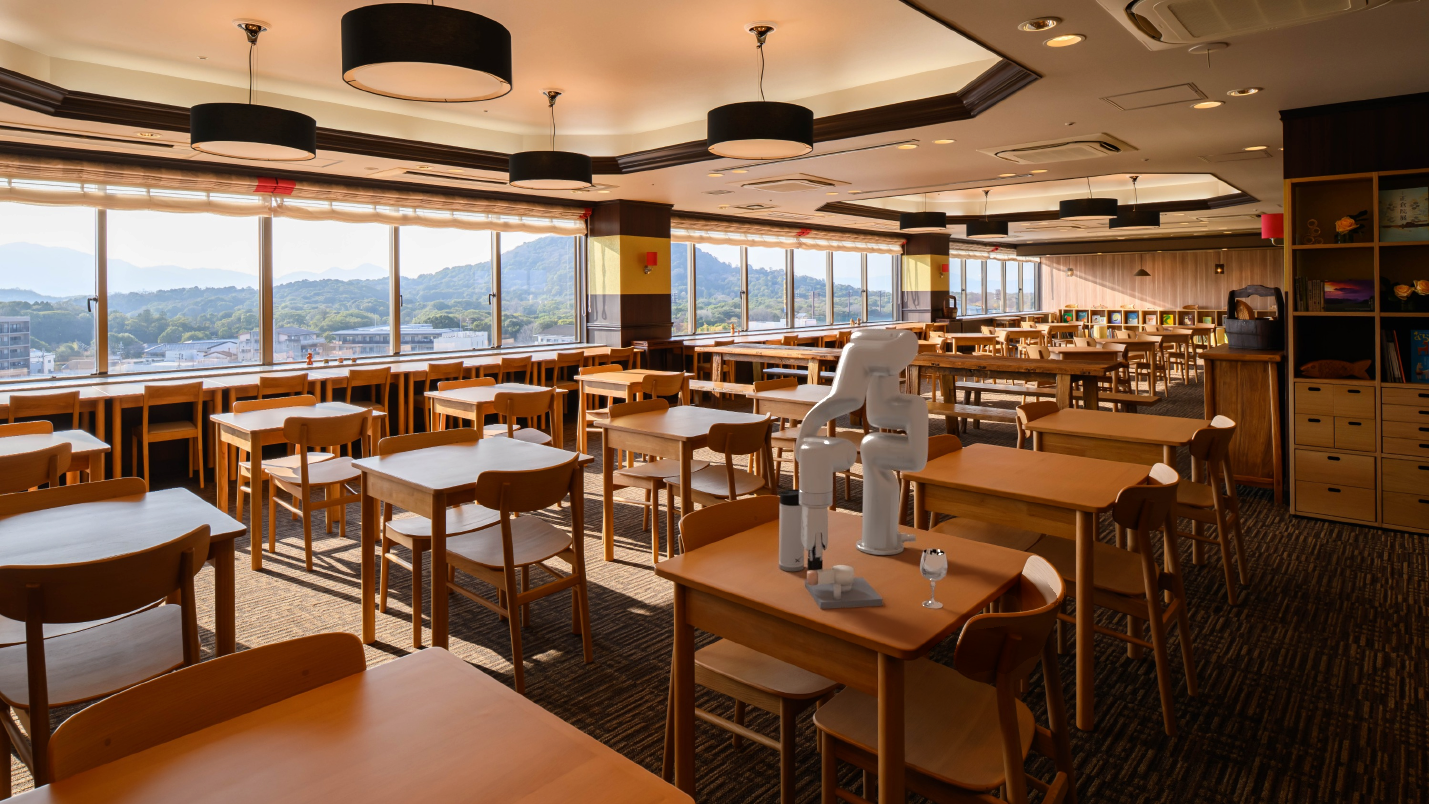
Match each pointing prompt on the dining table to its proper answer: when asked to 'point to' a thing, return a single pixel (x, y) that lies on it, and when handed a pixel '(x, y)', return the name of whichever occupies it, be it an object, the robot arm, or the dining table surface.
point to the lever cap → (831, 575)
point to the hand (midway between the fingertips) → (814, 575)
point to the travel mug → (790, 532)
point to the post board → (845, 594)
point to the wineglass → (933, 571)
